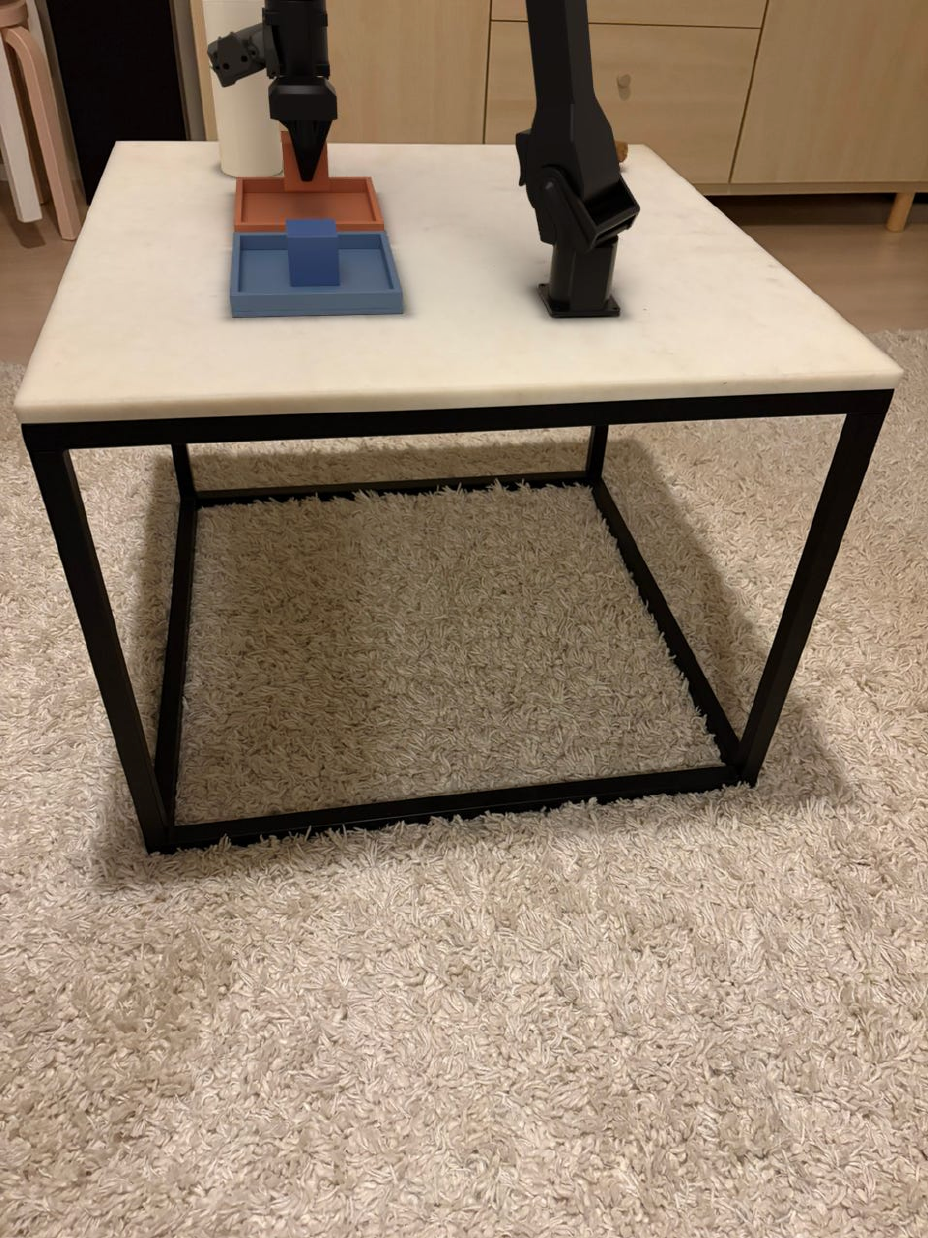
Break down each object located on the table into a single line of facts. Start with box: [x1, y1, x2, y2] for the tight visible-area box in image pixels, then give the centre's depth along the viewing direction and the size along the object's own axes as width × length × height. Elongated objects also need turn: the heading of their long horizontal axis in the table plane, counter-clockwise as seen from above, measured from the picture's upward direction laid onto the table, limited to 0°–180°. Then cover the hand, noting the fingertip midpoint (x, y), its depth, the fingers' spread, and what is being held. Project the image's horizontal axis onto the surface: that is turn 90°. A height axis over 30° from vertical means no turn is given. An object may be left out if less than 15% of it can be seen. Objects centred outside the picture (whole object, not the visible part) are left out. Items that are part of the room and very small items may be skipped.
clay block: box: [280, 130, 330, 191], centre depth 97 cm, size 4×4×4 cm
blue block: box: [286, 219, 340, 286], centre depth 86 cm, size 4×4×4 cm
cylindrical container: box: [201, 0, 283, 178], centre depth 104 cm, size 7×7×25 cm
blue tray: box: [229, 230, 404, 318], centre depth 88 cm, size 15×15×2 cm
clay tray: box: [233, 176, 385, 233], centre depth 100 cm, size 15×15×2 cm
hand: (305, 173), depth 98 cm, fingers closed on clay block, 4 cm apart
